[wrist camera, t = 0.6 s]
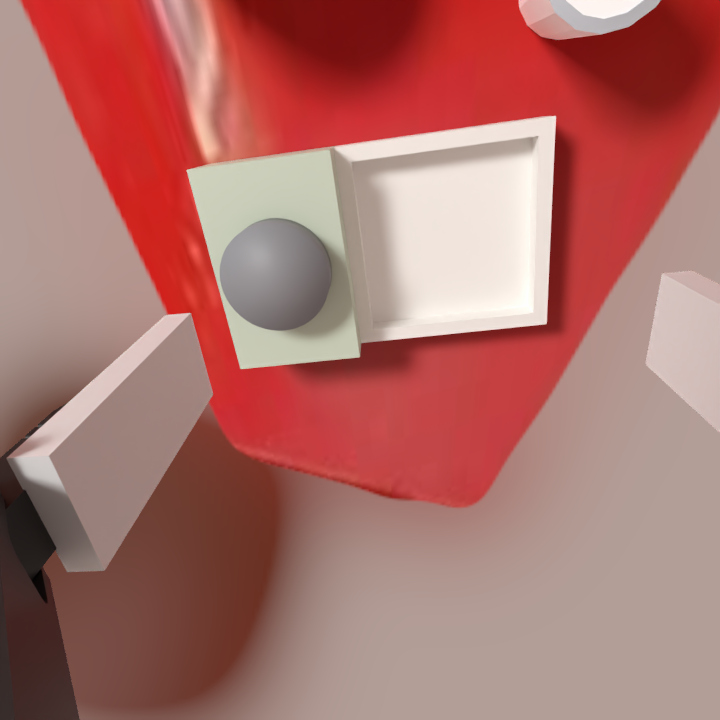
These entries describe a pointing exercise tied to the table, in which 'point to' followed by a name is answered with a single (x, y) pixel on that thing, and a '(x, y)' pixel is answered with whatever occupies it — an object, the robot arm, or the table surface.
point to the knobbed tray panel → (381, 240)
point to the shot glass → (582, 16)
